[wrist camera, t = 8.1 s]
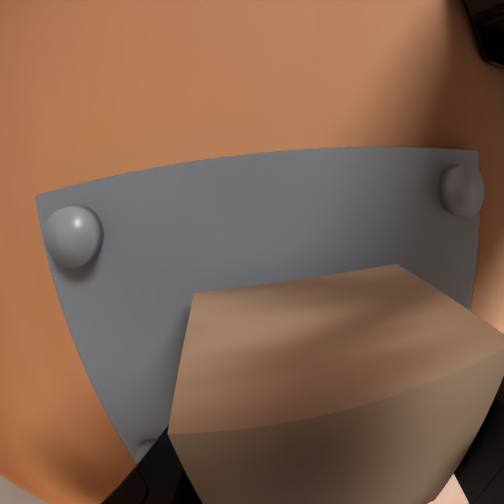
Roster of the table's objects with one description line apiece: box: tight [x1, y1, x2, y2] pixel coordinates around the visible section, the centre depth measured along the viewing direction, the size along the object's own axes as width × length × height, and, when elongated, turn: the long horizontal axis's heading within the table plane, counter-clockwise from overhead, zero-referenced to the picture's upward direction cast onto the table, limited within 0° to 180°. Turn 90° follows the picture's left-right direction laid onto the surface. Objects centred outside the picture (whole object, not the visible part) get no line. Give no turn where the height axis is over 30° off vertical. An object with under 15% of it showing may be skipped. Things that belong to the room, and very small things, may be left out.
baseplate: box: [35, 147, 485, 465], centre depth 10 cm, size 16×13×1 cm
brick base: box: [168, 264, 504, 504], centre depth 7 cm, size 6×6×5 cm
